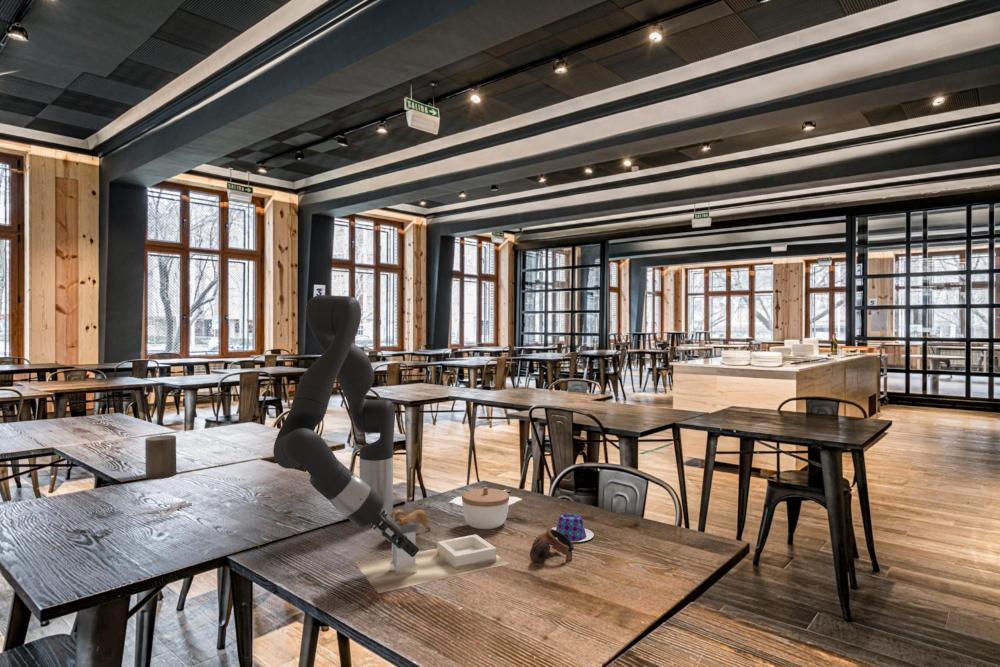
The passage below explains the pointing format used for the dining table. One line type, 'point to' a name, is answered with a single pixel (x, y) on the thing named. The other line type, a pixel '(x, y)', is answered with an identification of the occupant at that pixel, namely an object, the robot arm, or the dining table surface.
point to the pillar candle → (160, 456)
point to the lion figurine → (412, 518)
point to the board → (427, 571)
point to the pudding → (573, 528)
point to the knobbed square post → (400, 558)
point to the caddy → (466, 551)
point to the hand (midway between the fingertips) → (412, 548)
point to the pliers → (171, 510)
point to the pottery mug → (549, 538)
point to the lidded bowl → (485, 507)
